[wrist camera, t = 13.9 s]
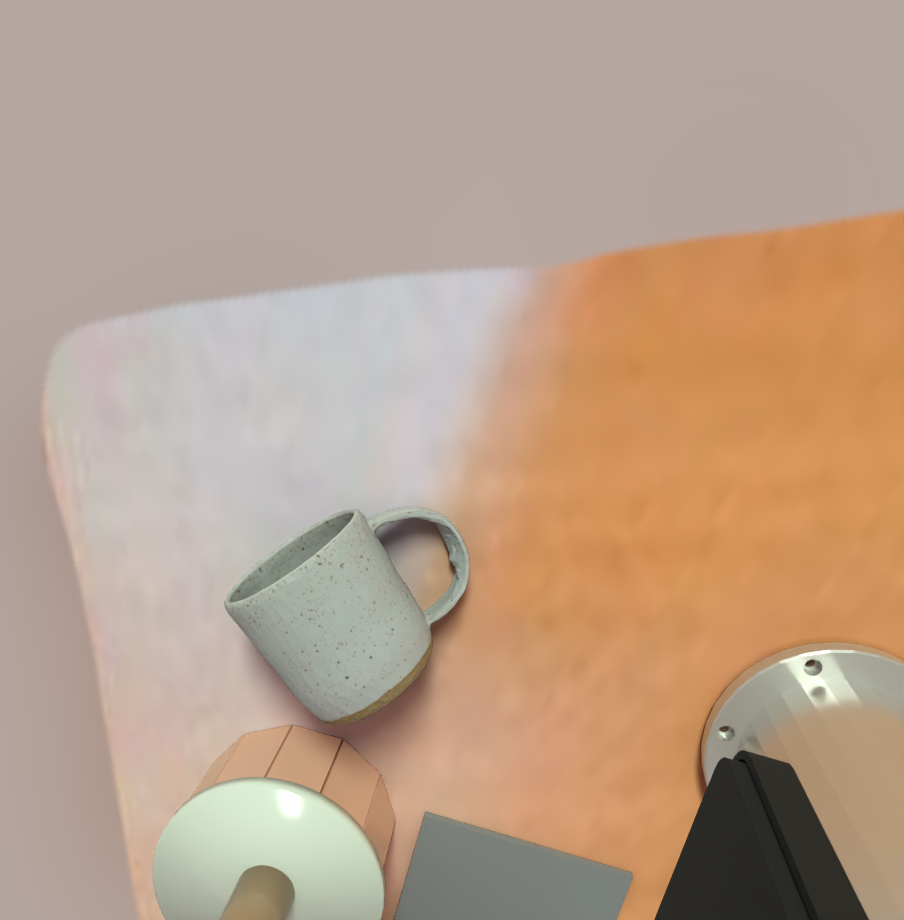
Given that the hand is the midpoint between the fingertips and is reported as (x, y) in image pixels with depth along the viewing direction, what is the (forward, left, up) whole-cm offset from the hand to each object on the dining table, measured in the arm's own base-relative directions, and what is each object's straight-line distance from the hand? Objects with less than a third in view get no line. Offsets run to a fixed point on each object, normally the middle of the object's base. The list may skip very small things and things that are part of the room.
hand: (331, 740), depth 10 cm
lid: (+4, +27, -26) cm, 38 cm away
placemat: (-9, +30, -30) cm, 44 cm away
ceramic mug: (+3, +11, -31) cm, 33 cm away
